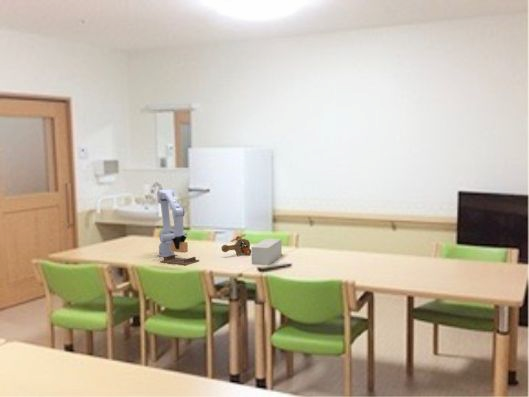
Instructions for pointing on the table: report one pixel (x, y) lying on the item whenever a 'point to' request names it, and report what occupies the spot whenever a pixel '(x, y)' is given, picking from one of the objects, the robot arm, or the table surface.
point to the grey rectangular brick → (266, 251)
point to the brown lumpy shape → (238, 246)
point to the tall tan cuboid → (180, 247)
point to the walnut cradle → (179, 260)
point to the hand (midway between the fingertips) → (179, 248)
